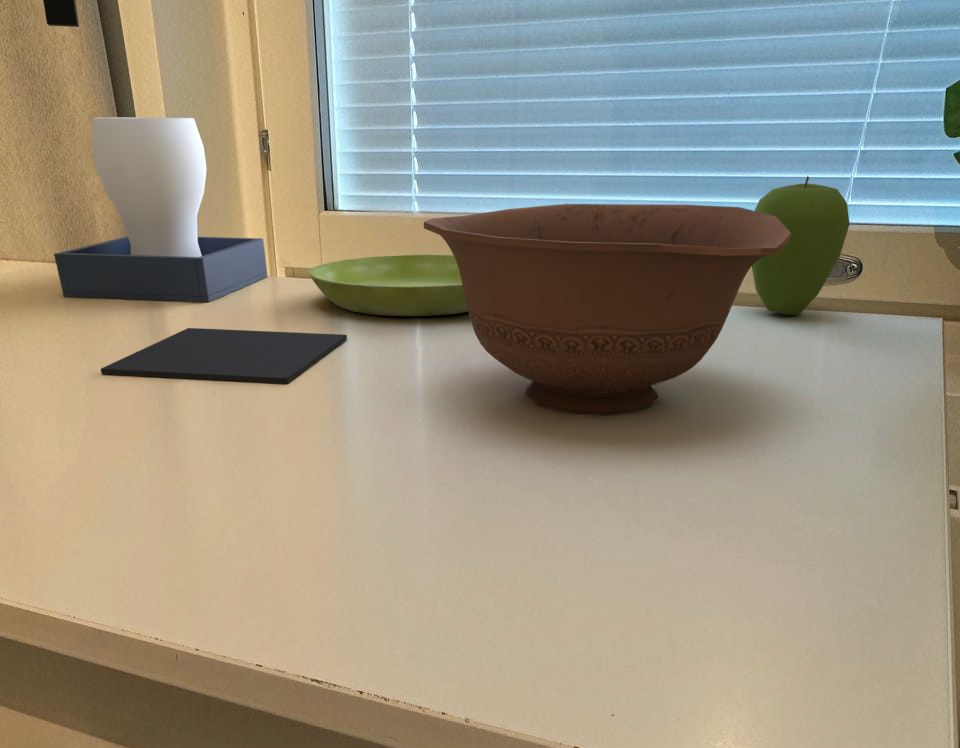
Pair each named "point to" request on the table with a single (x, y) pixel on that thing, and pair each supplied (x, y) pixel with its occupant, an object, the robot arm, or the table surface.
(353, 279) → the saucer
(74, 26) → the robot arm
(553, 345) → the bowl
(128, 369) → the mat
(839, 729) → the table surface
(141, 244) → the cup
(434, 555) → the table surface
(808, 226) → the apple
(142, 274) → the bin
